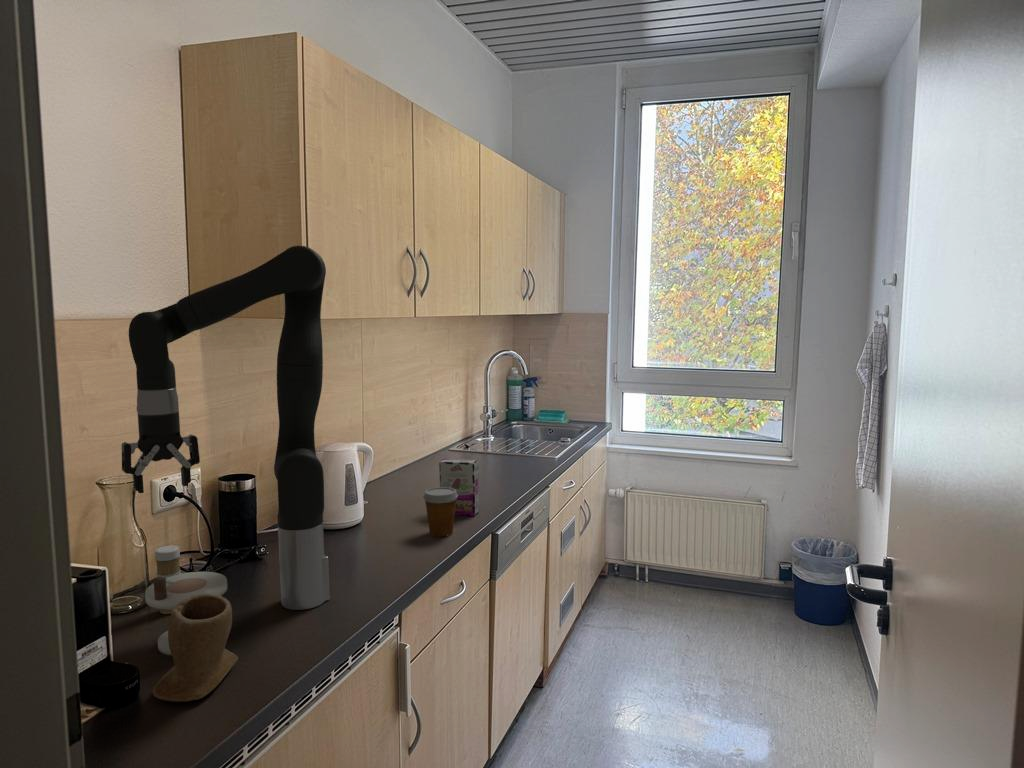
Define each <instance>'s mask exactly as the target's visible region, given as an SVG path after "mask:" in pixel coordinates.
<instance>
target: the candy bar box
mask: <svg viewBox="0 0 1024 768" xmlns="http://www.w3.org/2000/svg"><path fill="white" fill-rule="evenodd" d="M438 464H439V465H438V466H439V487H447V488H453V489H455V490H456V492H457V494H458V497H457V499H456V507H455V516H462V517H463V516H465V517H466V516H467V517H475V516H476V515H478V514H479V513H480V493H479V492H480V490H479V489H480V486H479V484H480V483H479V481H480V480H479V477H480V475H479V460H478V459H462V458H461V459H458V458H456V459H455V458H443V459H442V460H440V461H439V463H438Z"/></svg>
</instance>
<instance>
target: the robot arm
mask: <svg viewBox="0 0 1024 768" xmlns="http://www.w3.org/2000/svg"><path fill="white" fill-rule="evenodd" d="M326 274H327V271H326V264H325V261H324V259H323V257H322V256H321V255H320V254H319V253H318V252H317V251H315V249H312V248H311V247H309V246H305V245H292V246H290V247H288V248H286V249H285V250H284V251H282V252H280V253H278V254H277V255H276V256H274V257H272V258H271V259H269V260H268V261H266V262H265V263H263V264H261V265H259V266H257V267H256V268H254V269H251V270H249V271H247V272H245V273H243V274H241V275H238V276H236V277H233V278H230V279H228V280H224V281H222V282H220V283H218V284H214V285H212V286H209V287H206V288H204V289H201V290H198V291H196V292H194V293H191V294H188V295H187V296H185V297H182V298H181V299H179V300H178V301H177V302H176V303H174V304H171V305H168V306H166V307H164V308H161V309H158V310H154V311H142V312H140V313H138V314H136V315H135V316H134V317H133V318H131V320H130V323H129V327H128V343H129V345H130V349H131V351H130V352H131V354H132V358H133V361H134V363H135V367H136V371H135V373H136V374H135V375H136V386H137V387H136V388H137V389H136V390H137V393H136V394H137V395H136V413H137V425H138V441H137V442H126V441H123V442H122V443H121V471H122V472H124V473H125V474H126V475H127V474H128V475H132V482H133V483H132V484H133V489H134V490H135V491H136V492H137V493H139V494H144V491H145V490H144V476H143V472H144V471H145V469H146V467H148V466H149V464H150V463H151V462H155V463H156V462H161V461H162V460H163V461H166V460H171V459H172V458H174V459H175V460H176V461H177V462H178V463H179V464H180V465H181V467H180V475H181V476H180V478H181V479H180V480H181V485H182V487H188V486H189V484H190V483H191V481H192V478H191V477H192V476H191V468H192V467H193V466H195V465H199V464H200V461H201V459H200V451H199V442H198V441H199V440H198V437H197V436H195V435H194V434H189V435H188V436H182V435H181V426H180V425H181V424H180V423H181V422H180V421H181V420H180V410H179V409H180V407H179V395H178V392H177V384H176V383H177V381H176V379H177V378H176V368H175V364H174V362H173V361H172V360H171V359H170V354H169V347H168V344H171V343H173V342H175V341H177V340H179V339H182V338H184V337H185V336H187V335H189V334H191V333H192V332H196V331H199V330H201V329H205V328H207V327H210V326H213V325H215V324H217V323H220V322H223V321H224V320H226V319H228V318H231V317H233V316H235V315H236V314H239V313H240V312H242V311H244V310H246V309H248V308H249V307H251V306H253V305H255V304H258V303H260V302H263V301H265V300H267V299H270V298H273V297H276V296H280V295H284V320H283V325H282V329H281V333H280V337H279V343H278V349H277V354H276V355H277V356H276V397H277V399H276V401H277V414H278V434H277V444H276V450H275V451H276V452H275V458H274V459H275V460H274V467H273V470H274V473H273V474H274V476H275V479H276V481H277V503H278V504H277V505H278V511H277V515H276V516H277V536H278V554H279V555H278V557H279V579H280V580H279V581H280V584H279V585H280V599H281V600H280V601H281V602H280V603H281V606H282V607H283V608H284V609H288V610H295V611H300V610H308V609H312V608H317V607H318V606H321V605H322V604H323V603H324V602H326V601H329V600H330V599H331V597H330V571H329V557H328V556H327V555H326V554H325V539H324V512H325V476H324V469H323V464H322V462H321V461H320V460H319V458H318V457H317V452H316V443H315V442H316V441H315V421H316V417H317V416H316V415H317V412H318V408H319V404H320V400H321V395H322V390H323V389H322V387H323V374H324V373H323V371H324V370H323V369H324V368H323V367H324V365H323V364H324V360H323V359H324V356H323V355H324V354H323V352H324V351H323V334H322V333H323V332H322V321H321V320H322V319H321V318H322V317H321V313H322V301H323V293H324V288H325V279H326ZM184 443H185V445H186V446H187V447H188V448H189V449H188V450H189V459H187V458H186V457H185V456H184V455H183V454H182V452H180V451H179V450H180V449H181V447H182V446H183V444H184ZM136 449H138V450H139V451H140V453H142V454H140V456H139V458H138V459H137V462H136V463H135V465H134V466H133V467H132V455H133V454H135V451H136Z"/></svg>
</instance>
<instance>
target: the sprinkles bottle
mask: <svg viewBox="0 0 1024 768" xmlns="http://www.w3.org/2000/svg"><path fill="white" fill-rule="evenodd" d="M180 551H181V550H180V546H177V545H166V546H161V547H159V548H156V550H155V551H154V558H155V559H154V560H155V561H156V572H157V573H156V577H157V578H160V577H164V578H167V577H170V576H174V575H178V574H182V573H181V566H180V555H181V553H180ZM158 610H159V613H160V614H162V615H171V614H172V611H173V609H158Z"/></svg>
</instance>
